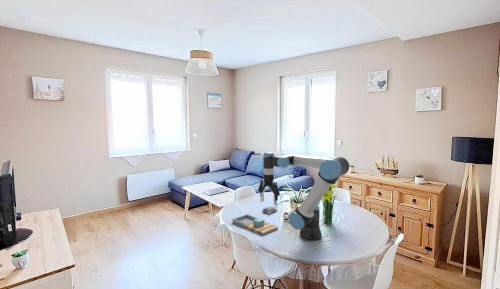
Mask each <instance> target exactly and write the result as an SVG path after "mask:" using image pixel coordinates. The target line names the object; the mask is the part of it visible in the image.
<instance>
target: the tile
mask: <svg viewBox="0 0 500 289" xmlns="http://www.w3.org/2000/svg"><path fill="white" fill-rule="evenodd" d="M256 218H257V219H254V220H253V225H254V226H257V227H261V226H263V225H264V222H265V219H263V218H260V217H256Z"/></svg>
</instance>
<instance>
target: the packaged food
mask: <svg viewBox="0 0 500 289" xmlns="http://www.w3.org/2000/svg"><path fill="white" fill-rule="evenodd" d="M278 210H279V209H278V208H276V207H274V206H268V207H265V208H263V209H262V211H261V212H262V213H265V214H268V215H271V214H273V213H275V212H276V213H277V211H278Z"/></svg>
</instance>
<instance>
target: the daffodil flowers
mask: <svg viewBox="0 0 500 289" xmlns="http://www.w3.org/2000/svg"><path fill="white" fill-rule="evenodd" d="M338 187H339V185H336V184H333V185H331V186H330V187H329V189H328V190H327V192H326V193H325V195H324V196H323V198H322V199H321V203H322V206H323V208H322V210H323V211H322V217H323V224H325V225H327V226H329V224H330V225H331V224H333V212H334V203H335V199H336V197H337V196H338V195H337V194H335V195H333V194H334V191H333V189H336V188H338Z"/></svg>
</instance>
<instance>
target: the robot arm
mask: <svg viewBox="0 0 500 289" xmlns="http://www.w3.org/2000/svg"><path fill="white" fill-rule="evenodd" d="M262 155H263V157H262V160H263V162H262V163H263V166H262V168H263V171H262V172H263V176H262V177H263V179H260V183H259V186H258V189H257V192H259V197H260V203H261V202H265V192H264V191H265V190H266V188H267V187H268V188H270V189H271V192H272V194H273V207H274V206H277V205H278V197H279V196H281V194H280V191H279V187H278V182H277V181H274V180H275V177H274V176H275V174H274V173H275V170H274V169H275V167H277V168H280V169H281V168H282V169H283V168H284V169H285V168H288V167H289V166H295V167H296V166H297V167H304V168H312V169H318V173H317V176H318V177H317V179H316V181H315V182H314V184H313V186H311V189H310V190H309V191H308V193H307V195H306V196H305V197H304V200H303V201H302V203H299V204H298V205H297V206H296V208H295V210H294V211H292V212H290V213H289V215H288V221H289V224H290V226H291V227H292V228H293V229H295V230H298V231H299V237H300V238H301V239H302V240H304V241H305V240H306V241H311V242H315V241H320V240H321V239H322V238H323V237H322V236H323V235H322V231H321V227H320V212H321V210H320V209H321V208H320V206H319V203H321V202H322V198H323V197H324V195H325V193H326V192H327V190H328V189H329V187H330V186H331V185H332V186H333V185H336V183H337V182H338V180H339V179H340V178H341V177H342V176H345V175H346V174H348V172H349V170H350V163H349V161H348V159H346V158H345V157H342V156H330V157H319V156H310V155H309V156H308V155H298V154H295V153H294V154H290V153H289V154H287V155H285V154H284V155H275V153H274V152H271V151H270V152H269V151H267V152H263V154H262Z"/></svg>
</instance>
